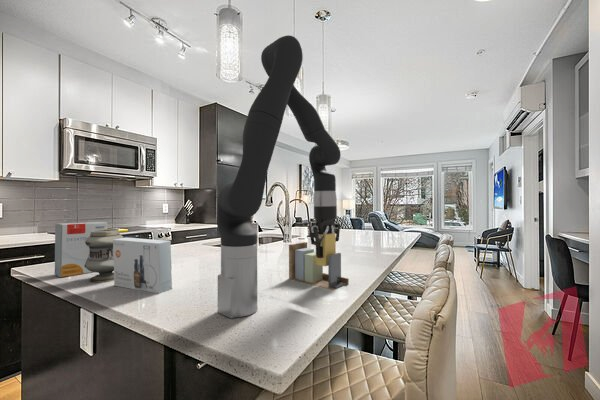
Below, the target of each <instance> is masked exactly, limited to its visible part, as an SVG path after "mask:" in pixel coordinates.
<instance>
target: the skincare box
mask: <svg viewBox="0 0 600 400" xmlns="http://www.w3.org/2000/svg"><path fill="white" fill-rule="evenodd" d="M171 245H172V240H164V239H163V240H162V239H152V238H151V239H149V238H139V237H138V238H136V237H124V238H120V239H114V240H113V256H114V271H113V273H114V280H113V284H114V286H115V287H120V288H127V289H132V290H135V291H137V290H138V291H143V292H148V293H155V294H163V293H165V292H167V291H170V290H172V289H173V278H172V277H173V276H172V275H173V274H172V270H173V268H172V247H171ZM162 292H163V293H162Z"/></svg>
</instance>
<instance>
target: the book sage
mask: <svg viewBox="0 0 600 400" xmlns="http://www.w3.org/2000/svg"><path fill="white" fill-rule="evenodd" d="M304 256H305V281H307V282H311V283H314V282H317V281H320V280H323V273H324V272H323V270H324V266H321V265H316V251H314V252H313V253H308V254H304Z"/></svg>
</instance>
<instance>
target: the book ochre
mask: <svg viewBox="0 0 600 400" xmlns="http://www.w3.org/2000/svg"><path fill="white" fill-rule="evenodd" d="M318 236H323V234H318ZM320 240H321V239H319V242H320ZM336 245H337V241H336V234H335V233H330V234H326V235H324V239H323V258H317V256H316V265H321V266H323V267H328V255H331V254H335V253H337V251H336V250H337V249H336V248H337V247H336Z"/></svg>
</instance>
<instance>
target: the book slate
mask: <svg viewBox="0 0 600 400" xmlns="http://www.w3.org/2000/svg"><path fill="white" fill-rule="evenodd" d="M313 252H315V249H314V248H309V247H307V248H302V249H297V250H295V279H299V280H303V281H304V280H305V256H304V254H308V253H313Z"/></svg>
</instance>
